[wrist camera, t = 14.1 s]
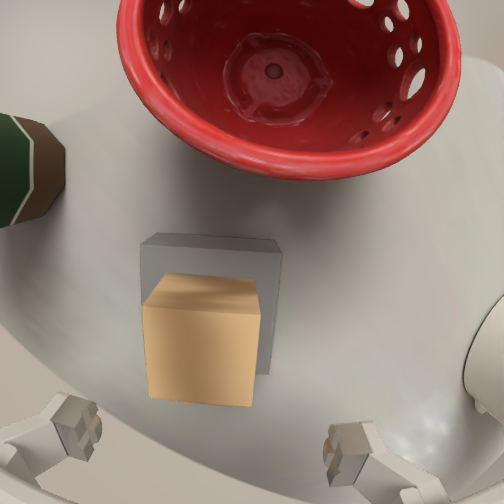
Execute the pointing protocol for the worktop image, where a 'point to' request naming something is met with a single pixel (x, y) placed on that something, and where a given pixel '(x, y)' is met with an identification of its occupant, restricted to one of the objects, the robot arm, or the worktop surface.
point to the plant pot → (293, 80)
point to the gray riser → (219, 271)
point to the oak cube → (202, 339)
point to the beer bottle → (28, 169)
